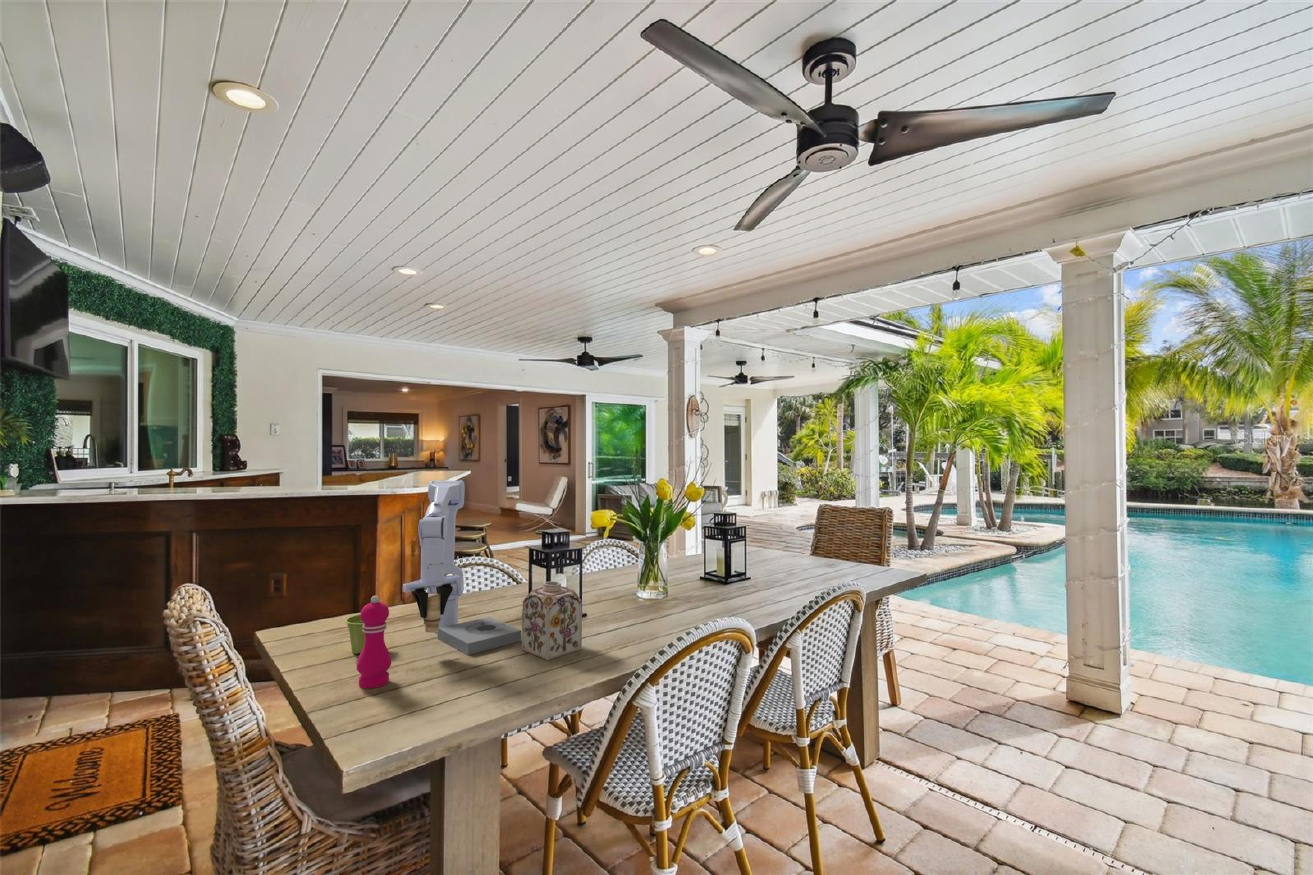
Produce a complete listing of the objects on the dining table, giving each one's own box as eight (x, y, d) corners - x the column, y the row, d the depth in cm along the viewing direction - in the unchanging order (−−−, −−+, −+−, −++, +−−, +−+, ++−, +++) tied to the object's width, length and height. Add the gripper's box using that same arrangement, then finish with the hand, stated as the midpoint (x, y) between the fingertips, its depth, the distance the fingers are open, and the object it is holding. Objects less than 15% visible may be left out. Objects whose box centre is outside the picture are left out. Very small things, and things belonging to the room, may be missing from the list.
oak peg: (420, 630, 153) (421, 595, 153) (436, 627, 156) (436, 592, 156) (427, 634, 150) (427, 598, 150) (443, 630, 153) (443, 595, 153)
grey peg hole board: (437, 638, 166) (437, 628, 166) (489, 626, 178) (489, 616, 178) (467, 655, 154) (467, 643, 154) (521, 641, 165) (521, 630, 165)
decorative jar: (520, 650, 157) (521, 582, 158) (555, 640, 166) (556, 576, 166) (547, 661, 149) (548, 590, 150) (583, 650, 158) (583, 582, 158)
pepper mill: (356, 692, 130) (357, 601, 131) (356, 680, 137) (357, 594, 137) (392, 686, 134) (393, 597, 134) (390, 674, 140) (391, 590, 140)
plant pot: (390, 650, 157) (390, 617, 157) (353, 659, 150) (353, 625, 150) (376, 642, 163) (376, 610, 163) (339, 650, 156) (340, 618, 156)
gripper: (410, 569, 145) (410, 624, 145) (466, 561, 156) (465, 613, 155) (399, 565, 150) (399, 618, 150) (453, 557, 161) (453, 607, 160)
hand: (432, 615), depth 153 cm, fingers closed on oak peg, 4 cm apart
